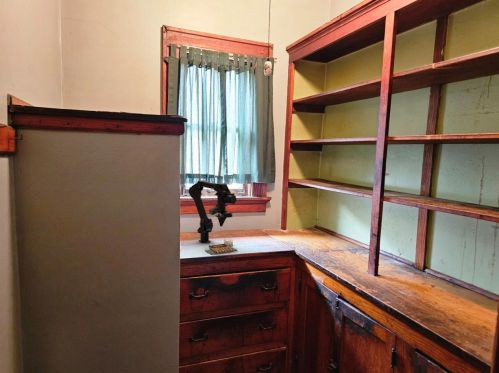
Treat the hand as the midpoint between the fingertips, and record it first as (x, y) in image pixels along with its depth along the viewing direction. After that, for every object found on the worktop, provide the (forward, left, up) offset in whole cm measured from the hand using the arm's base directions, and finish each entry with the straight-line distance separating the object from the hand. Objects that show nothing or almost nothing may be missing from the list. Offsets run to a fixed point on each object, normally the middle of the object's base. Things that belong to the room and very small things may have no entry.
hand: (221, 226), depth 206 cm
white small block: (+2, +4, -12) cm, 14 cm away
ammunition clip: (+6, -6, -11) cm, 14 cm away
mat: (+11, -6, -12) cm, 18 cm away
